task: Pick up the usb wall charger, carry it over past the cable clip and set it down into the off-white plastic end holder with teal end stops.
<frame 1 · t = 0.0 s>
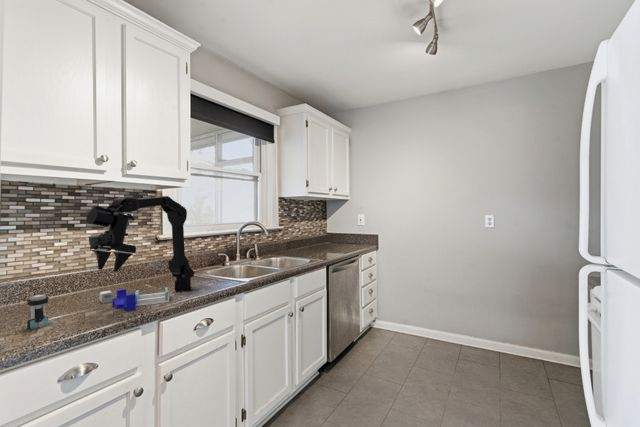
hand: (107, 270, 115), 15 cm above the worktop, tool pointing down, fingers open, 9 cm apart
cable clip: (123, 308, 121), on the worktop
end holder: (152, 300, 129), on the worktop
usb wall charger: (105, 301, 129), on the worktop
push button: (40, 326, 102), on the worktop
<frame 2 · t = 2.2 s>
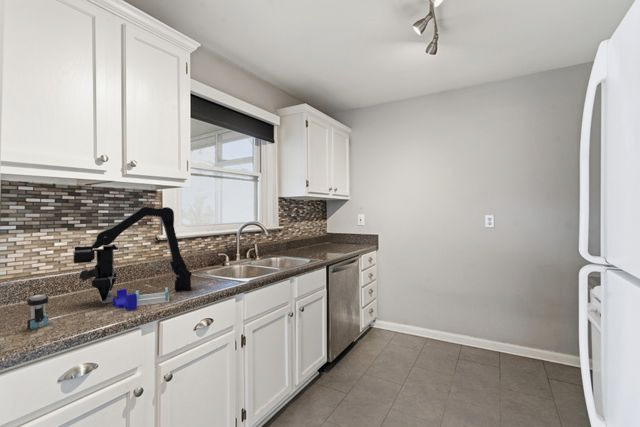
hand: (105, 298, 129), 1 cm above the worktop, tool pointing down, fingers closed on usb wall charger, 7 cm apart
usb wall charger: (105, 301, 130), on the worktop, touching gripper
everything else where it was.
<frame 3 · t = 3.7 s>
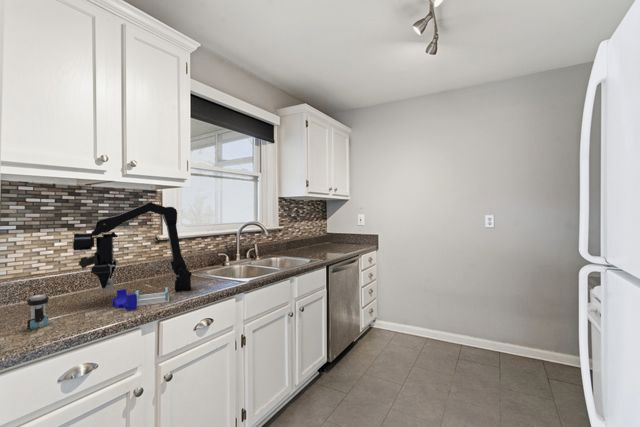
hand: (105, 285, 129), 6 cm above the worktop, tool pointing down, fingers closed on usb wall charger, 7 cm apart
usb wall charger: (105, 289, 130), point 5 cm above the worktop, touching gripper
everything else where it was.
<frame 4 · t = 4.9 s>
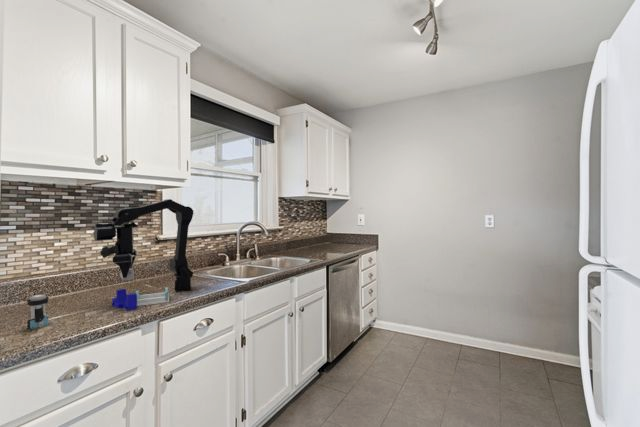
hand: (126, 275, 129), 11 cm above the worktop, tool pointing down, fingers closed on usb wall charger, 7 cm apart
usb wall charger: (126, 278, 130), point 9 cm above the worktop, touching gripper
everything else where it was.
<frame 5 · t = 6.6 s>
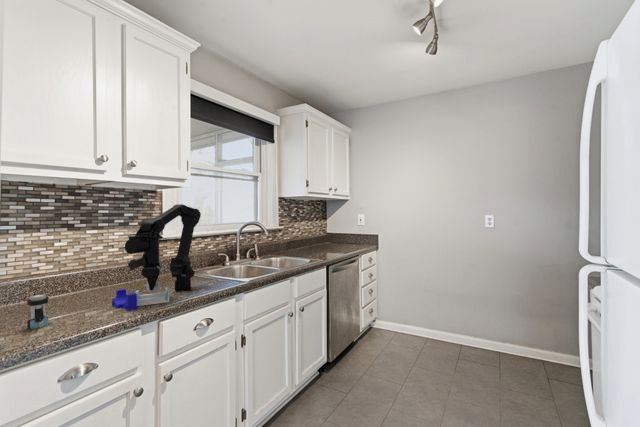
hand: (152, 287, 129), 5 cm above the worktop, tool pointing down, fingers closed on usb wall charger, 7 cm apart
usb wall charger: (152, 290, 129), point 4 cm above the worktop, touching gripper
everything else where it was.
when the fingers open (3 cm above the worktop, at t = 7.7 s): usb wall charger stays where it is, resting on end holder.
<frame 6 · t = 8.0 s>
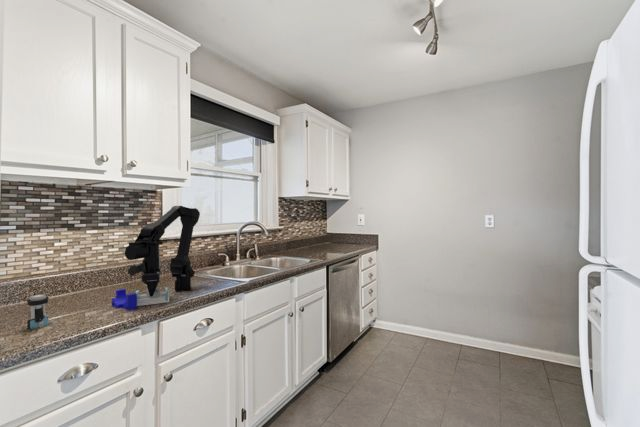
hand: (152, 293, 129), 3 cm above the worktop, tool pointing down, fingers open, 9 cm apart
usb wall charger: (152, 297, 129), point 2 cm above the worktop, touching end holder
everything else where it was.
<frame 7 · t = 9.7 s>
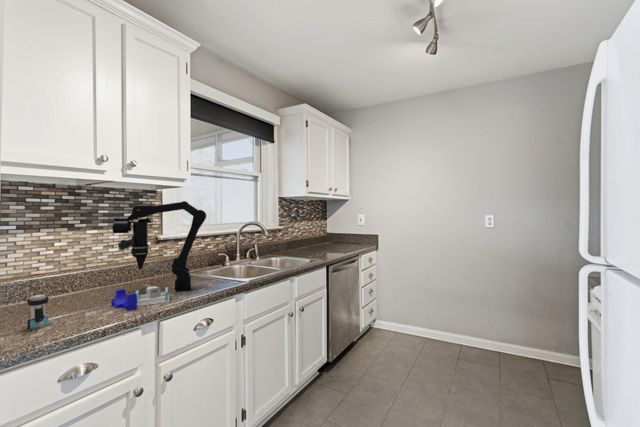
hand: (140, 267, 140), 12 cm above the worktop, tool pointing down, fingers open, 9 cm apart
nothing on the worktop moved.
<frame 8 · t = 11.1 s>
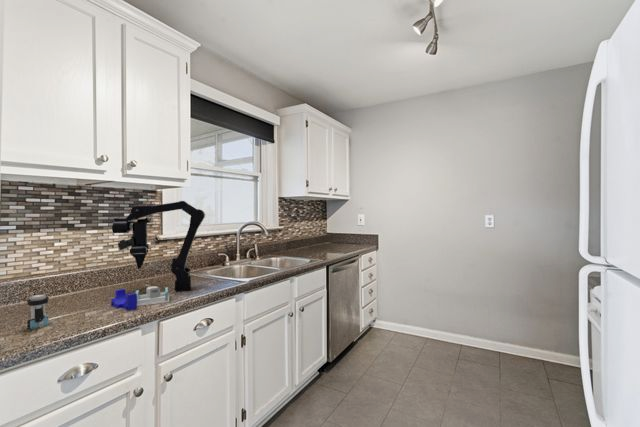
hand: (140, 266, 142), 12 cm above the worktop, tool pointing down, fingers open, 9 cm apart
nothing on the worktop moved.
at the end: usb wall charger 0.1 cm off-centre on the end holder, point 1.6 cm above the end holder's base; the gripper is holding nothing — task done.
